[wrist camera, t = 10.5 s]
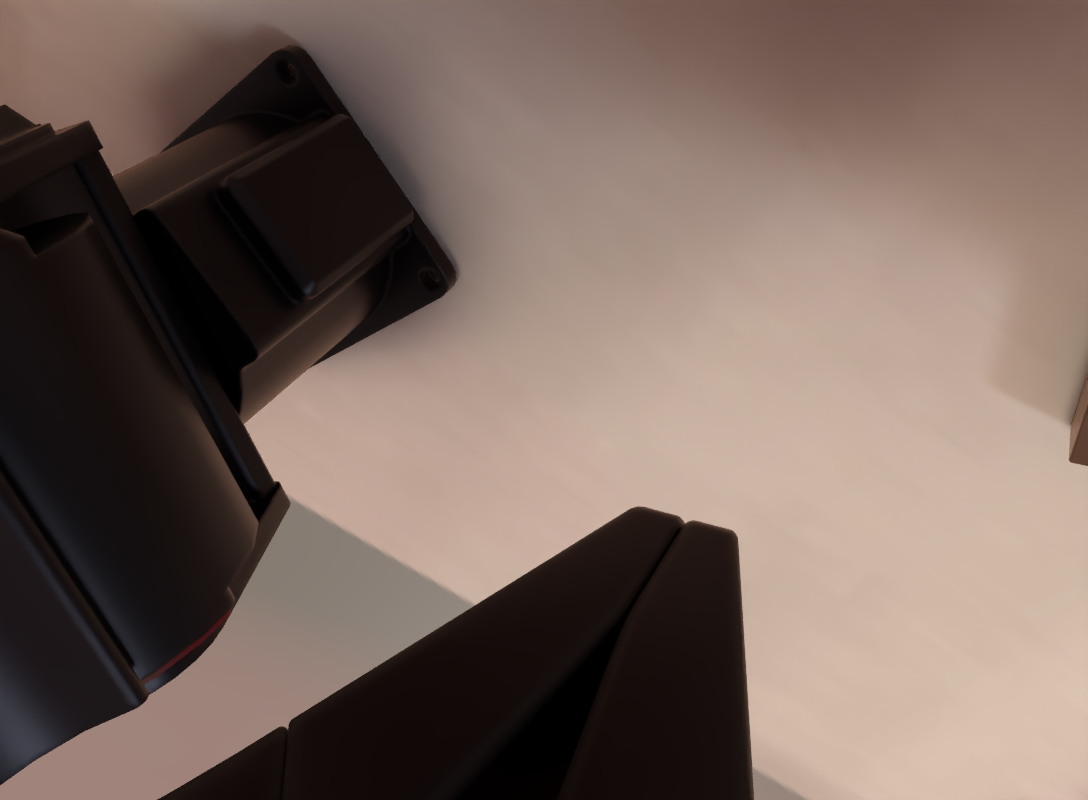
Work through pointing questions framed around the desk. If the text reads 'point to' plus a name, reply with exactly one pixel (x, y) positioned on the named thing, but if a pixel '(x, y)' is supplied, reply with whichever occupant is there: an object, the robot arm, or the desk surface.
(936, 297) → the desk surface
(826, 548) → the desk surface
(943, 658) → the desk surface
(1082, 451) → the window frame
